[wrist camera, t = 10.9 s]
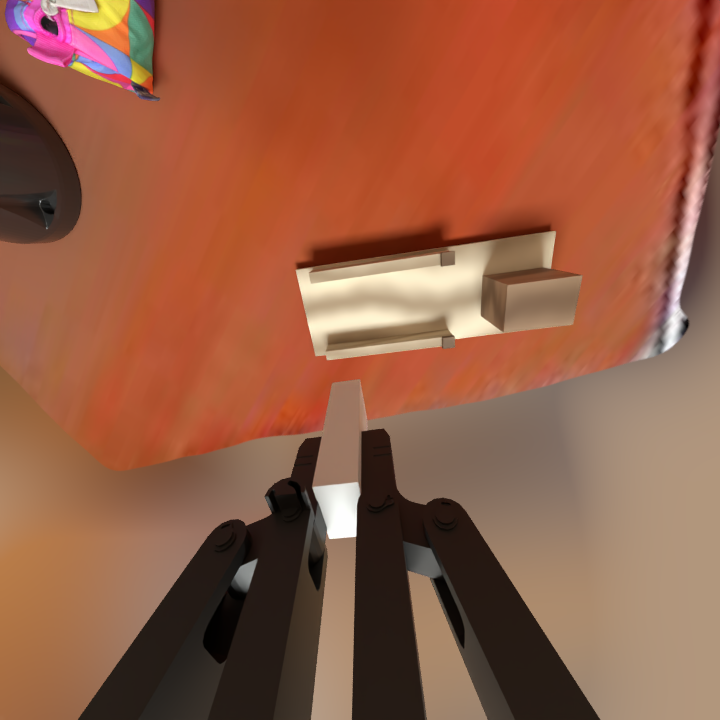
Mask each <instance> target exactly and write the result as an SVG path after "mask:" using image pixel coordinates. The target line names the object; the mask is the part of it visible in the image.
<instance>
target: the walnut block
mask: <svg viewBox="0 0 720 720" xmlns="http://www.w3.org/2000/svg"><path fill="white" fill-rule="evenodd" d="M582 276H583V275H579V274H574V273H569V272H564V271H559V270H554V269H549V268H544V267H542V268H534V269H527V270H520V271H512V272H505V273H498V274H490V275H483V276H482V296H481V317H483V318H484V319H486V320H487V321H488V322H490V323H491V324H492V325H494V326H495V327H496V328H498V329H499V330H500V331H502V332H503V333H507V332H515V331H524V330H532V329H540V328H549V327H557V326H565V325H573V322H574V316H575V311H576V306H577V301H578V296H579V291H580V286H581V281H582Z"/></svg>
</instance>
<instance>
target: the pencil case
mask: <svg viewBox="0 0 720 720" xmlns="http://www.w3.org/2000/svg"><path fill="white" fill-rule="evenodd" d="M5 17H6V22H7V24H8V27H9V28H10V30H11V31H12V32H13V33H15V34H16V35H18V36H20V37H21V38H23V39H24V40H26V41H27V42H29V43H30V44H31V45H32V47H28V48H27V50H28V53H29V54H30V55H32V56H34V57H35V58H37V59H39V60H42V61H44V62H47V63H50V64H55V65H59V66H62V67H67V66H69V67H71V68H73V69H75V70H77V71H79V72H81V73H84V74H86V75H88V76H91V77H93V78H96V79H99V80H102V81H105V82H108V83H111V84H114V85H116V86H119V87H121V88H123V89H126V90H129V91H131V92H134V93H136V94H137V96H138V97H139V98H141V99H144V100H150V101H159V100H160V98H157V97H155V96H153V95H152V94H153V85H152V81H153V70H152V57H153V46H154V18H155V12H154V0H7V4H6V10H5Z"/></svg>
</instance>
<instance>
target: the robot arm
mask: <svg viewBox="0 0 720 720" xmlns="http://www.w3.org/2000/svg"><path fill="white" fill-rule="evenodd" d="M80 208H81V191H80V185H79V180H78V176H77V173H76V170H75V167H74V164H73V162H72V160H71V157H70V155H69V153H68V151H67V149H66V148H65V146H64V144H63V143H62V141H61V139H60V138H59V136H58V135H57V134H56V132H55V131H54V129H53V128H52V127H51V126H50V124H49V123H48V122H47V121H46V120H45V118H44V117H43V116H42V115H41V114H40V113H39V112H38V111H37V110H36V109H35V108H34V107H33V106H32V105H30V104H29V103H28V102H27V101H26V100H24V99H23V98H22V97H21V96H19V95H18V94H16V93H15V92H13V91H12V90H10V89H9V88H7V87H5V86H3V85H1V84H0V240H1V241H5V242H11V243H20V244H30V243H49V242H54V241H57V240H59V239H61V238H63V237H65V236H66V235H67V234H68V233H69V232H70V231H71V230H72V229H73V228H74V226H75V224H76V222H77V220H78V217H79V214H80ZM265 499H266V501H267V503H268V505H269V508H270V510H271V512H272V514H271V515H270V516H268V517H266V518H264V519H262V520H259V521H257V522H254V523H252V524H249V525H247V526H246V525H245V523H244V522H243V521H241V520H239V519H236V520H229V521H227V522H224V523H222V524H221V525H219V526H218V527H217V528H215V529H214V530H213V531H212V533H211V534H210V535H209V536H208V537H207V539H206V540H205V542H204V543H203V544H202V546H201V547H200V549H199V550H198V551H197V553H196V554H195V556H194V557H193V558H192V560H191V561H190V563H189V564H188V565H187V567H186V568H185V570H184V571H183V572H182V574H181V575H180V577H179V578H178V579H177V581H176V582H175V584H174V585H173V587H172V588H171V589H170V591H169V592H168V593H167V595H166V596H165V598H164V599H163V600H162V602H161V603H160V605H159V606H158V607H157V609H156V610H155V612H154V613H153V615H152V616H151V617H150V619H149V620H148V622H147V623H146V624H145V626H144V627H143V629H142V630H141V631H140V633H139V634H138V636H137V637H136V639H135V640H134V641H133V643H132V644H131V646H130V647H129V648H128V650H127V651H126V653H125V654H124V656H123V657H122V658H121V660H120V661H119V662H118V664H117V665H116V667H115V668H114V670H113V671H112V672H111V674H110V675H109V677H108V678H107V679H106V681H105V682H104V683H103V685H102V686H101V688H100V689H99V690H98V692H97V693H96V695H95V696H94V698H93V699H92V701H91V702H90V703H89V705H88V706H87V707H86V709H85V710H84V712H83V713H82V714H81V716H80V717H79V719H78V720H311V712H312V702H313V693H314V682H315V673H316V664H317V654H318V644H319V635H320V625H321V616H322V606H323V596H324V587H325V577H326V567H327V558H328V556H327V548H326V545H325V540H326V531H327V533H328V536H329V539H334V538H345V537H356V569H355V614H354V617H355V618H354V658H353V699H352V700H353V701H352V720H427V717H426V710H425V702H424V694H423V687H422V679H421V671H420V663H419V656H418V649H417V640H416V632H415V625H414V617H413V609H412V601H411V593H410V585H409V578H408V571H411V572H414V573H418V574H421V575H424V576H428V577H430V580H431V582H432V585H433V587H434V590H435V592H436V595H437V597H438V599H439V602H440V604H441V607H442V609H443V611H444V614H445V616H446V619H447V621H448V624H449V626H450V629H451V631H452V633H453V636H454V638H455V641H456V643H457V646H458V648H459V651H460V653H461V655H462V658H463V660H464V663H465V665H466V667H467V670H468V672H469V675H470V677H471V680H472V682H473V685H474V687H475V689H476V692H477V694H478V697H479V699H480V702H481V704H482V707H483V709H484V712H485V714H486V716H487V719H488V720H600V719H599V717H598V716H597V714H596V712H595V711H594V709H593V708H592V706H591V705H590V703H589V702H588V700H587V698H586V697H585V695H584V694H583V692H582V691H581V689H580V688H579V686H578V685H577V683H576V681H575V680H574V678H573V677H572V675H571V674H570V672H569V671H568V669H567V667H566V666H565V664H564V663H563V661H562V660H561V658H560V657H559V655H558V653H557V652H556V650H555V649H554V647H553V646H552V644H551V643H550V641H549V640H548V638H547V636H546V635H545V633H544V632H543V630H542V629H541V627H540V626H539V624H538V622H537V621H536V619H535V618H534V616H533V615H532V613H531V612H530V610H529V609H528V607H527V605H526V604H525V602H524V601H523V599H522V598H521V596H520V594H519V593H518V591H517V590H516V588H515V587H514V585H513V584H512V582H511V581H510V579H509V577H508V576H507V574H506V573H505V571H504V570H503V568H502V567H501V565H500V563H499V562H498V560H497V559H496V557H495V556H494V554H493V553H492V551H491V550H490V548H489V546H488V545H487V543H486V542H485V540H484V539H483V537H482V536H481V534H480V532H479V531H478V529H477V528H476V526H475V525H474V523H473V522H472V520H471V518H470V517H469V516H468V514H467V512H466V511H465V510H464V509H463V508H462V506H461V505H460V504H458V503H457V502H455V501H453V500H451V499H446V498H439V499H438V498H437V499H433V500H432V501H430V502H428V503H427V505H423V504H418V503H414V502H411V501H409V500H407V499H405V498H404V497H403V496H402V495H401V494H400V493H399V491H398V490H397V487H396V480H395V472H394V464H393V457H392V450H391V443H390V436H389V435H388V433H387V432H386V431H385V430H384V429H376V430H369V431H368V427H367V415H366V410H365V405H364V399H363V394H362V388H361V383H360V379H358V380H350V381H343V382H336V383H332V387H331V392H330V397H329V402H328V407H327V413H326V418H325V423H324V428H323V433H322V437H316V438H307V439H305V441H304V442H303V443H302V445H301V446H300V447H299V450H298V453H297V459H296V460H295V464H294V467H293V471H292V474H291V478H286V479H282V480H280V481H279V482H277V483H275V484H274V485H273V486H272V487H271V488H270V489H269V490H268V491H267V493H266V495H265Z"/></svg>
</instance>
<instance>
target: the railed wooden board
mask: <svg viewBox="0 0 720 720" xmlns="http://www.w3.org/2000/svg"><path fill="white" fill-rule="evenodd" d="M555 235H556V231H548V232H541V233H534V234H528V235H521V236H514V237H508V238H501V239H494V240H488V241H481V242H474V243H468V244H461V245H454V246H448V247H441V248H434V249H428V250H421V251H414V252H408V253H401V254H394V255H388V256H381V257H374V258H368V259H361V260H354V261H348V262H341V263H334V264H328V265H321V266H314V267H308V268H301V269H297V270H296V273H297V278H298V282H299V286H300V291H301V295H302V299H303V303H304V308H305V312H306V316H307V321H308V325H309V329H310V334H311V338H312V342H313V347H314V351H315V355H316V356H322V355H326V357H327V360H333V359H341V358H350V357H358V356H366V355H374V354H382V353H391V352H399V351H407V350H415V349H423V348H432V347H440V346H442V348H443V349H446V348H454V347H455V339H459V338H467V337H475V336H483V335H491V334H500V333H503V332H502V331H500V330H499V329H498V328H496V327H495V326H494V325H492V324H491V323H490V322H488V321H487V320H486V319H484V318H483V317H481V296H482V276H483V275H490V274H498V273H505V272H512V271H520V270H527V269H534V268H542V267H544V268H549V269H551V263H552V256H553V249H554V242H555ZM515 332H516V331H515ZM507 333H508V332H507Z"/></svg>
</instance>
